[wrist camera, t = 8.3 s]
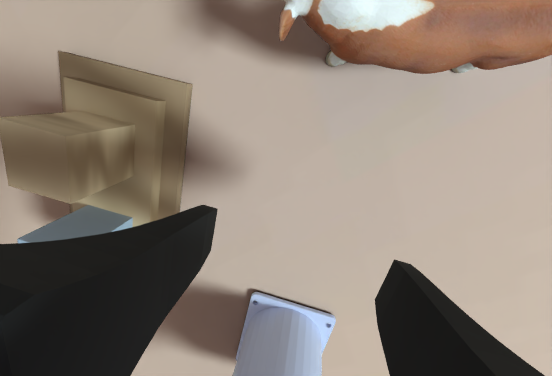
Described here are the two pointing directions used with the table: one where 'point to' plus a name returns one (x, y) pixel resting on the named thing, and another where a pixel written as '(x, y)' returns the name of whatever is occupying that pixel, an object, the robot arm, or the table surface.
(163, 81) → the plinth
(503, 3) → the bull figurine
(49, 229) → the slate block
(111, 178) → the brass block
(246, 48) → the table surface
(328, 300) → the table surface
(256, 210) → the table surface
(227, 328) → the table surface
